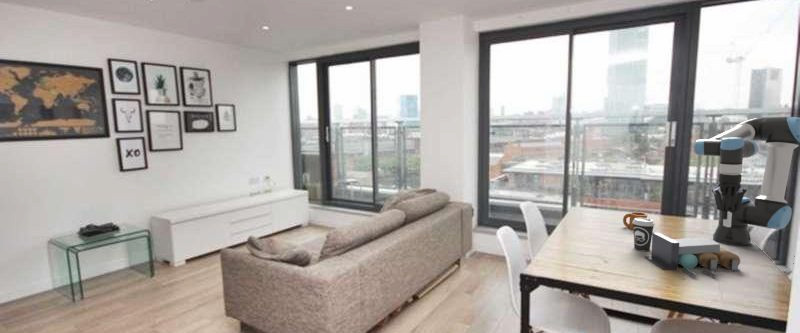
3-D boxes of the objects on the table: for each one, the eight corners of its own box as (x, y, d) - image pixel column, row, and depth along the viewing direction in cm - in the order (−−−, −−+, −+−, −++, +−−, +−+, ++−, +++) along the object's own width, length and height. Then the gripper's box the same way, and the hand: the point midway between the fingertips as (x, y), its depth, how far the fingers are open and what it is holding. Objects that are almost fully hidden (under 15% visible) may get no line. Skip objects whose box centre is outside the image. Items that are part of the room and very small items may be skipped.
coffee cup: (656, 252, 191) (658, 222, 189) (635, 251, 193) (636, 221, 191) (648, 246, 200) (650, 217, 198) (628, 245, 202) (629, 216, 200)
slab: (704, 244, 179) (704, 237, 179) (720, 252, 169) (720, 244, 169) (662, 247, 181) (662, 239, 180) (675, 254, 171) (675, 246, 171)
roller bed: (711, 257, 183) (712, 246, 183) (755, 278, 158) (756, 267, 158) (658, 256, 185) (659, 246, 184) (693, 278, 160) (694, 266, 160)
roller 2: (681, 257, 183) (682, 243, 182) (696, 257, 182) (698, 243, 182) (702, 269, 169) (704, 254, 168) (719, 269, 168) (720, 254, 167)
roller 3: (700, 257, 182) (702, 243, 181) (715, 258, 182) (718, 244, 181) (723, 268, 168) (725, 253, 167) (739, 270, 167) (742, 255, 167)
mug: (625, 225, 240) (625, 210, 239) (647, 228, 232) (648, 213, 231) (621, 227, 234) (622, 213, 233) (644, 231, 226) (645, 216, 225)
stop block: (657, 257, 184) (659, 232, 183) (677, 269, 169) (679, 242, 168) (644, 257, 185) (645, 232, 183) (663, 269, 170) (664, 242, 168)
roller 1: (671, 262, 182) (663, 250, 182) (683, 254, 181) (676, 243, 181) (687, 271, 171) (679, 259, 170) (700, 263, 170) (692, 251, 170)
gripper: (739, 171, 174) (736, 223, 177) (708, 172, 175) (705, 224, 178) (753, 174, 167) (749, 228, 170) (720, 175, 168) (717, 229, 171)
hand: (726, 226), depth 174 cm, fingers closed
